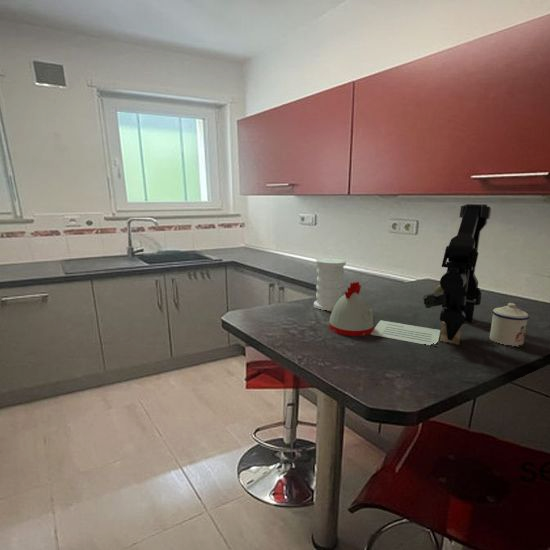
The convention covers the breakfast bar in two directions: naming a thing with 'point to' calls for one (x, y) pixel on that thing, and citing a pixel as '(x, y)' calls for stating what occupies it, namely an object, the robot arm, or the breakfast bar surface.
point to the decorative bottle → (438, 289)
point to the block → (445, 338)
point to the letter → (406, 332)
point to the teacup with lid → (508, 325)
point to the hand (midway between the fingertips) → (450, 336)
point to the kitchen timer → (351, 314)
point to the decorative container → (329, 282)
